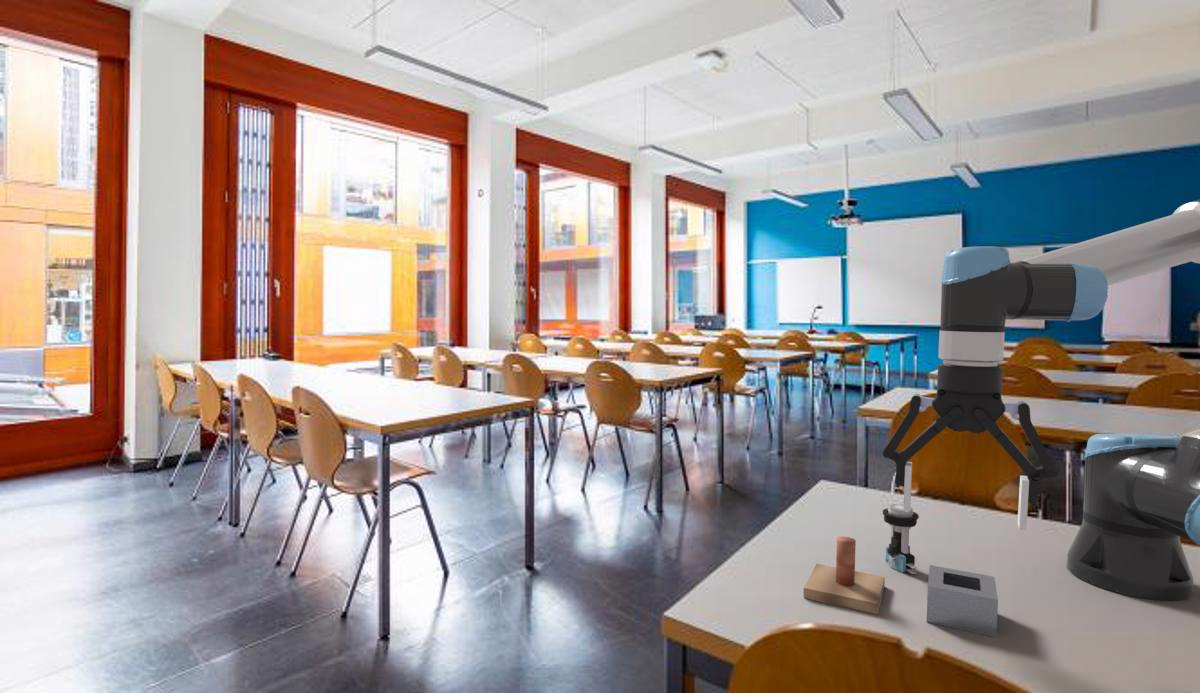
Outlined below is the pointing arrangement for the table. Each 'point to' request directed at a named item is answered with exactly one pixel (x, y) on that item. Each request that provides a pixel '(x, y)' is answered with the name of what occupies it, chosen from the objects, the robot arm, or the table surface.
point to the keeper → (845, 582)
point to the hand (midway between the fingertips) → (962, 517)
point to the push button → (900, 537)
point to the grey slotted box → (962, 600)
